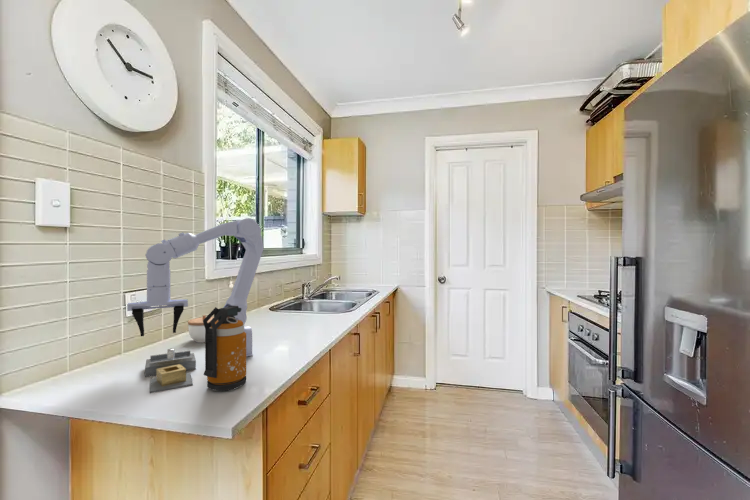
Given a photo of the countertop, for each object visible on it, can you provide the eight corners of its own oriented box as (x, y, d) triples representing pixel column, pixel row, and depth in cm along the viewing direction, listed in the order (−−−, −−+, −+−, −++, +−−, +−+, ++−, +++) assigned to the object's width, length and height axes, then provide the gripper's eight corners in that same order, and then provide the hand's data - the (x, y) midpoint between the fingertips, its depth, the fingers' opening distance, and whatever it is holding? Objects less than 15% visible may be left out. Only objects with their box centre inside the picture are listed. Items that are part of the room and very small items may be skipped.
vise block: (193, 361, 105) (193, 343, 105) (195, 369, 98) (195, 349, 98) (146, 368, 99) (146, 349, 99) (145, 377, 92) (145, 356, 92)
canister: (253, 381, 89) (254, 304, 89) (221, 399, 79) (222, 311, 78) (225, 377, 92) (226, 302, 92) (191, 393, 81) (191, 309, 81)
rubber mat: (190, 374, 94) (190, 372, 94) (192, 385, 87) (192, 383, 87) (151, 380, 90) (151, 378, 90) (149, 392, 82) (149, 391, 82)
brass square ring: (179, 375, 92) (179, 364, 92) (186, 380, 88) (186, 369, 88) (156, 380, 88) (156, 368, 88) (161, 386, 85) (161, 374, 85)
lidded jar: (198, 346, 121) (198, 319, 121) (181, 341, 127) (181, 316, 127) (225, 339, 130) (225, 314, 130) (209, 335, 136) (209, 311, 136)
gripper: (186, 283, 106) (186, 328, 106) (128, 286, 98) (128, 333, 98) (188, 285, 100) (188, 332, 100) (126, 288, 92) (126, 339, 92)
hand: (158, 333), depth 98 cm, fingers open, 7 cm apart
